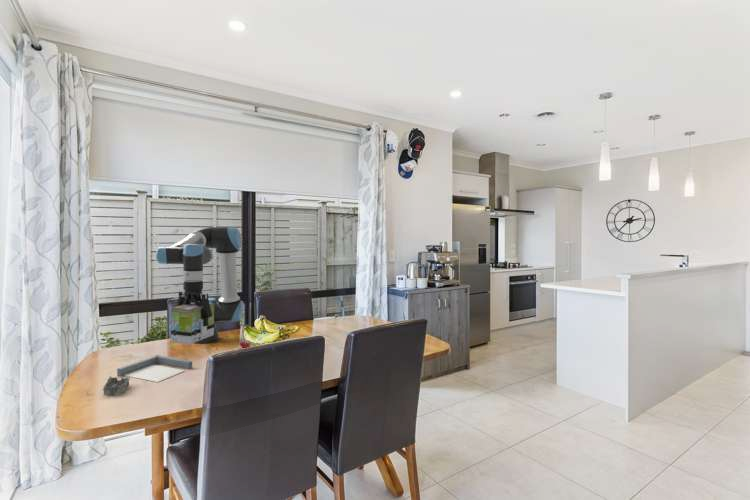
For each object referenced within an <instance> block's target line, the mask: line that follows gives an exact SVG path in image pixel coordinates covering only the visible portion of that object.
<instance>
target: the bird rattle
mask: <svg viewBox="0 0 750 500" xmlns="http://www.w3.org/2000/svg"><path fill="white" fill-rule="evenodd" d="M239 346H240V347H238V348H237V349H241V348H247V347H250V348H251V342H245V341H243V342H242V341H240V342H239Z"/></svg>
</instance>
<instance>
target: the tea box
mask: <svg viewBox="0 0 750 500" xmlns="http://www.w3.org/2000/svg"><path fill="white" fill-rule="evenodd" d="M209 304H210V308H211V312H212V317H209V318H208V326H207V333H205V334H201V318H202V316H201V309H202V308H203V306H200V307H199V306H197V305H195V303H192V302H191V303H190V304H187V305H180V306H177V305H176V306H173V307H171V317H170V318H171V321H170V323H171V325H170V328H171V329H170V330H171V331H170V332H171V333H170V343H173V344H182V345H192V344H196V343H195V342H197V341H200V340H202V339H205V338H207V337H210V336H213V335H214V303H209ZM208 315H209V314H208Z"/></svg>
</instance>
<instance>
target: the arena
mask: <svg viewBox="0 0 750 500" xmlns="http://www.w3.org/2000/svg"><path fill="white" fill-rule="evenodd" d="M153 364H154V365H153ZM157 364H159V365H157ZM163 365H165V366H163ZM167 366H168V367H167ZM169 366H170V367H169ZM171 366H172V367H171ZM173 367H174V368H173ZM179 368H181V369H179ZM192 368H193V360H188V359H182V358H177V357H170V356H166V355H164V356H163V355H159V354H157V355H154V356H153V355H152V356H150V357H148V358H144V359H142V360H139V361H137V362H132V363H130V364H126V365H124V366H121V367H118V368H117V369H116V374H117V377H127V378H129V377H130V378H134V379H139V380H143V381H147V382H153V383H159V382H162V381H164V380H167V379H169V378H172V377H174V376H177V375H179V374H181V373H184V372H186V370H190V369H192ZM185 369H186V370H185Z"/></svg>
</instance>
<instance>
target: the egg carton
mask: <svg viewBox="0 0 750 500" xmlns="http://www.w3.org/2000/svg"><path fill="white" fill-rule="evenodd" d="M130 380H131V377H125V378H124V377H121V378H120V379H118V378H117V377H112V376H109V377H108V378H107V382H105V384H104V385H103V387H102V388H103V389H102V391H103V395H106V397H108V396H111V395H113V394H116V395H121V394H123V393H126V390H127V389H128V386H129V385H130Z"/></svg>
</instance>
